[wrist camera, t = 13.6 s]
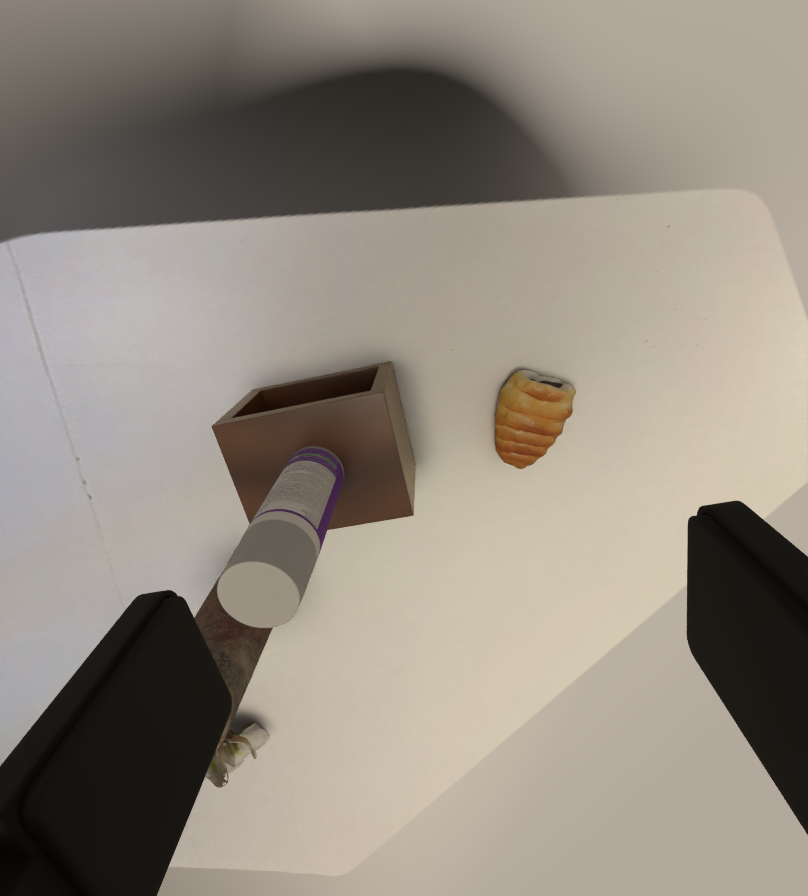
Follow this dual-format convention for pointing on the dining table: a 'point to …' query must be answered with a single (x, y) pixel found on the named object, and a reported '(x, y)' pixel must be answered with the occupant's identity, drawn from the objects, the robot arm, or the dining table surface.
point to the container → (283, 541)
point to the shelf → (326, 441)
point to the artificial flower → (235, 752)
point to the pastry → (530, 416)
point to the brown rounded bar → (231, 648)
